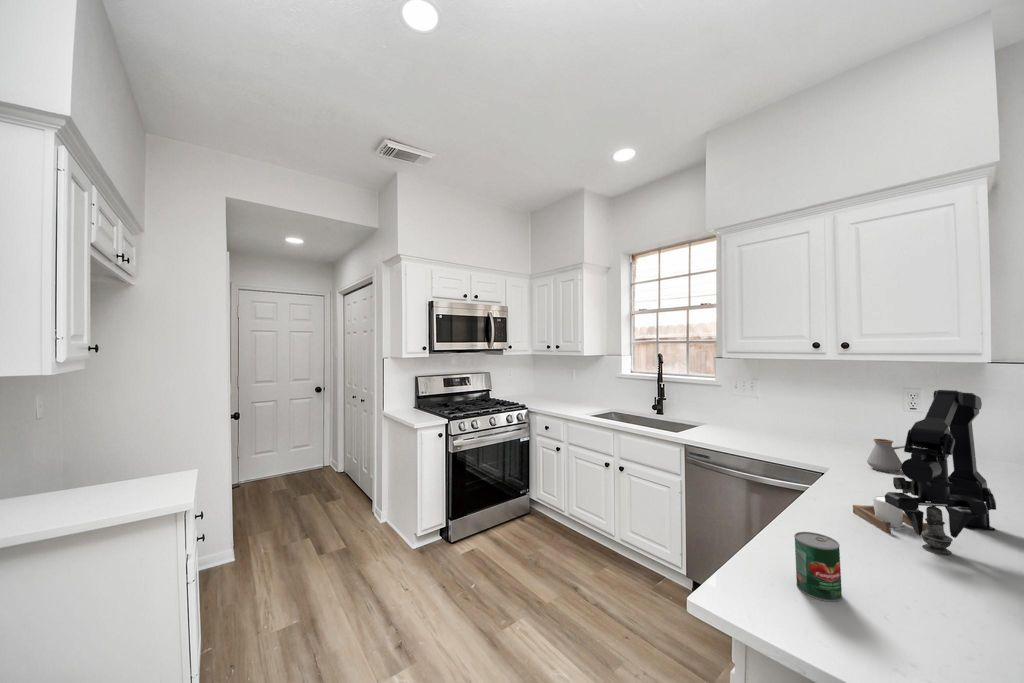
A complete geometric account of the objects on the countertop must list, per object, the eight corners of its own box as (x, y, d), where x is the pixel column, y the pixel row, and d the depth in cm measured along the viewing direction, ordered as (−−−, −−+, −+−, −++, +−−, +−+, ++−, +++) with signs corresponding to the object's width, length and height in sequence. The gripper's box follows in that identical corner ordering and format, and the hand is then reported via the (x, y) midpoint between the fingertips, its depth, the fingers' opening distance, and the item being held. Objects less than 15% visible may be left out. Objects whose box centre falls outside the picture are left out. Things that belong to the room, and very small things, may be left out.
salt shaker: (938, 544, 104) (935, 499, 104) (961, 556, 98) (957, 507, 99) (913, 544, 105) (911, 499, 105) (935, 555, 99) (932, 507, 99)
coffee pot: (863, 469, 172) (861, 434, 172) (872, 464, 178) (870, 431, 179) (933, 481, 154) (930, 443, 154) (940, 476, 160) (938, 439, 161)
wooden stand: (893, 514, 124) (893, 504, 124) (933, 536, 109) (932, 525, 109) (852, 512, 126) (852, 502, 126) (886, 533, 111) (885, 522, 111)
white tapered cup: (896, 519, 120) (895, 496, 120) (910, 529, 114) (909, 504, 114) (868, 517, 122) (867, 494, 123) (881, 526, 116) (879, 502, 116)
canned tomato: (828, 606, 80) (825, 551, 80) (788, 585, 87) (786, 535, 88) (850, 595, 83) (847, 543, 84) (809, 577, 90) (807, 529, 91)
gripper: (948, 468, 108) (951, 525, 107) (869, 465, 112) (872, 520, 111) (987, 480, 97) (991, 544, 96) (898, 477, 101) (902, 538, 100)
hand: (935, 535), depth 101 cm, fingers closed on salt shaker, 7 cm apart
